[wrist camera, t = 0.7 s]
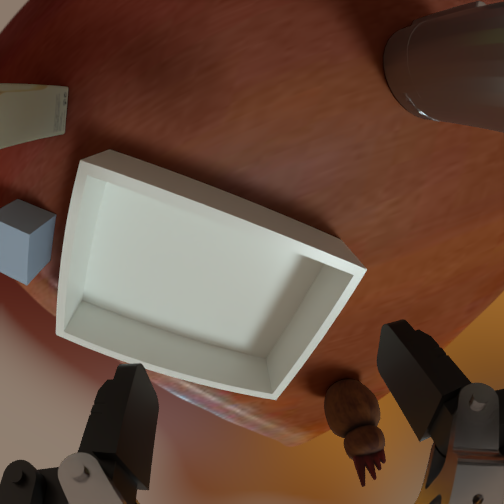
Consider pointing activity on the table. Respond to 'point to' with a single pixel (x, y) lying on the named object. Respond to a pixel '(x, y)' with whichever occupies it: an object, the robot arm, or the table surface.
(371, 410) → the wooden figurine
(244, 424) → the table surface
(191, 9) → the table surface
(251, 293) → the tote
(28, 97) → the skincare box
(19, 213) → the cube
